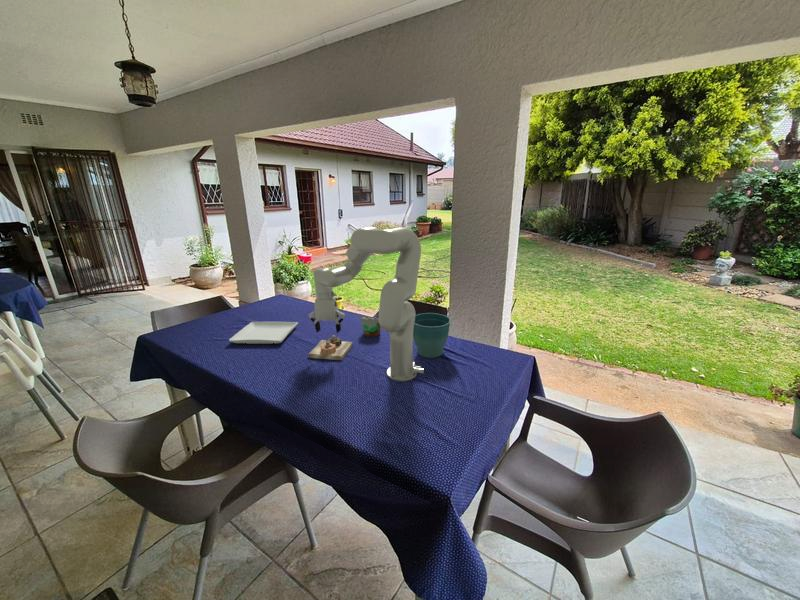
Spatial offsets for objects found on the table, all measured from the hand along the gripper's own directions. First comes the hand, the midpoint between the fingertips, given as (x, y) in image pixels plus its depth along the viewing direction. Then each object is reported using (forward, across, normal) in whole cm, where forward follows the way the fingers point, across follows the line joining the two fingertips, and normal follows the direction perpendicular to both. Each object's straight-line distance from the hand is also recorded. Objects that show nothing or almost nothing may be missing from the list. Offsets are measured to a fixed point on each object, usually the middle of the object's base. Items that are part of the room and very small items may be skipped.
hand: (328, 331), depth 155 cm
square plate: (+11, +43, -17) cm, 48 cm away
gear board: (+12, +1, -4) cm, 13 cm away
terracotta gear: (+10, +1, 0) cm, 10 cm away
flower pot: (+14, -46, -10) cm, 49 cm away
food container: (+12, -12, -26) cm, 31 cm away
